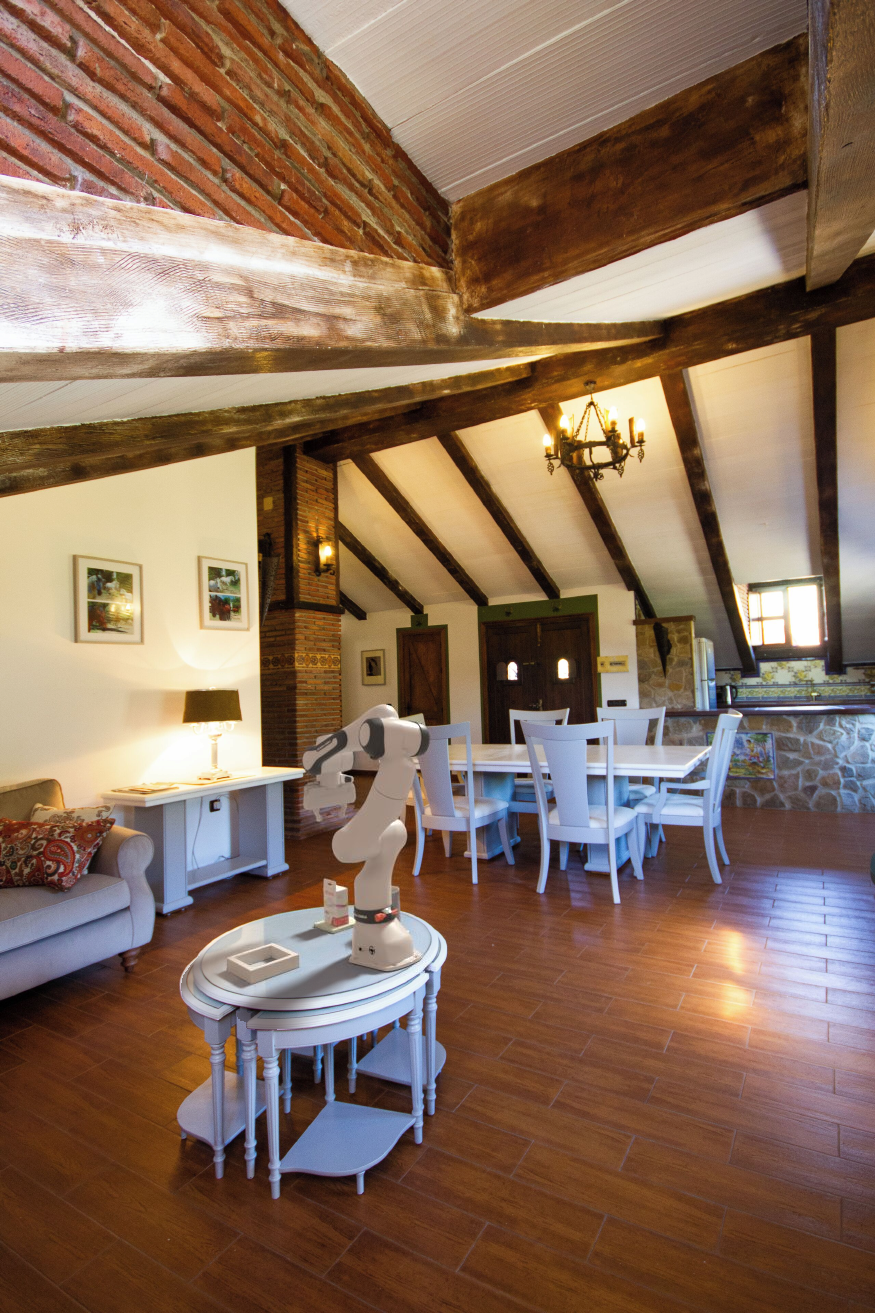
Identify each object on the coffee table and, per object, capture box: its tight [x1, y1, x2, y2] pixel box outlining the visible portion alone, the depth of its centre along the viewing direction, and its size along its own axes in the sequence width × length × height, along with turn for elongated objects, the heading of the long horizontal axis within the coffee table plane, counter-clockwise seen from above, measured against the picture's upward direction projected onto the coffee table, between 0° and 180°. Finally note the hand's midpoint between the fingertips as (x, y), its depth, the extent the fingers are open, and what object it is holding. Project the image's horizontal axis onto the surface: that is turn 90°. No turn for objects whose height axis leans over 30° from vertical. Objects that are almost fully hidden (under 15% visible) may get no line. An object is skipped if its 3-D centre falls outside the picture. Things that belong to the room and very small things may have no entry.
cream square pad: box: [313, 916, 355, 935], centre depth 223 cm, size 12×12×1 cm
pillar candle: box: [391, 885, 402, 924], centre depth 214 cm, size 10×10×15 cm
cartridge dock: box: [225, 942, 300, 985], centre depth 188 cm, size 15×15×4 cm
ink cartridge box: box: [322, 878, 350, 927], centre depth 223 cm, size 9×5×15 cm, turn 42°
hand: (330, 819), depth 231 cm, fingers open, 8 cm apart
